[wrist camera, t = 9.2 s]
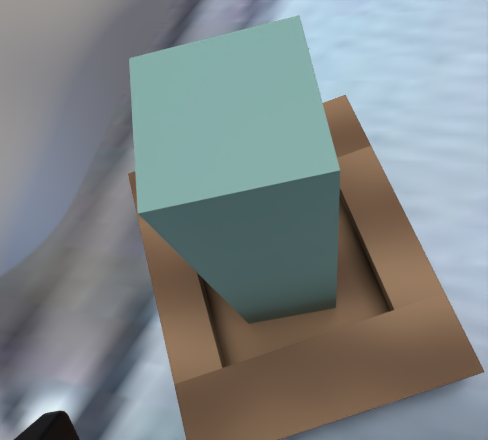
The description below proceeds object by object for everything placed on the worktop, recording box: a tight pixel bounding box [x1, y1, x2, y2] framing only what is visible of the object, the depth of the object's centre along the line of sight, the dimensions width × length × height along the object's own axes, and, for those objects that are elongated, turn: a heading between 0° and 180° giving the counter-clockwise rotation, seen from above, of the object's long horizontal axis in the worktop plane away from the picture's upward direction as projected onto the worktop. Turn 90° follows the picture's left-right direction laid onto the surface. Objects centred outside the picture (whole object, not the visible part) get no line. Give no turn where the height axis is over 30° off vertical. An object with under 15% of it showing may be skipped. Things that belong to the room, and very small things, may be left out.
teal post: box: [129, 16, 340, 324], centre depth 15 cm, size 4×4×13 cm
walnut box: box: [128, 95, 484, 440], centre depth 20 cm, size 13×11×3 cm
